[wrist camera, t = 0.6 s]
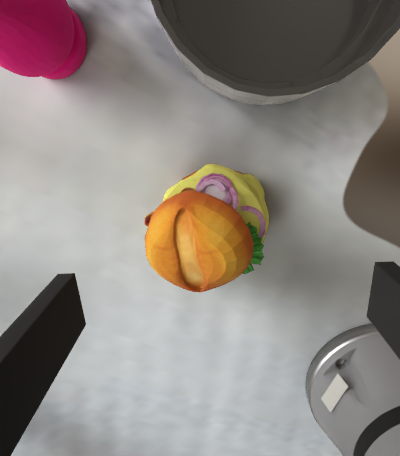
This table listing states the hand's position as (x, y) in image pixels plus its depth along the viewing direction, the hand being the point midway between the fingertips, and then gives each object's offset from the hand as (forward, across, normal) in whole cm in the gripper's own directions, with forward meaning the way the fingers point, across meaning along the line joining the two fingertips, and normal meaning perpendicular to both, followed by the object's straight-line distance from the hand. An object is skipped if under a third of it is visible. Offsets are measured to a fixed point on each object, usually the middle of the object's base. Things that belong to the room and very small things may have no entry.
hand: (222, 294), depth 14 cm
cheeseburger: (+18, 0, +2) cm, 18 cm away
